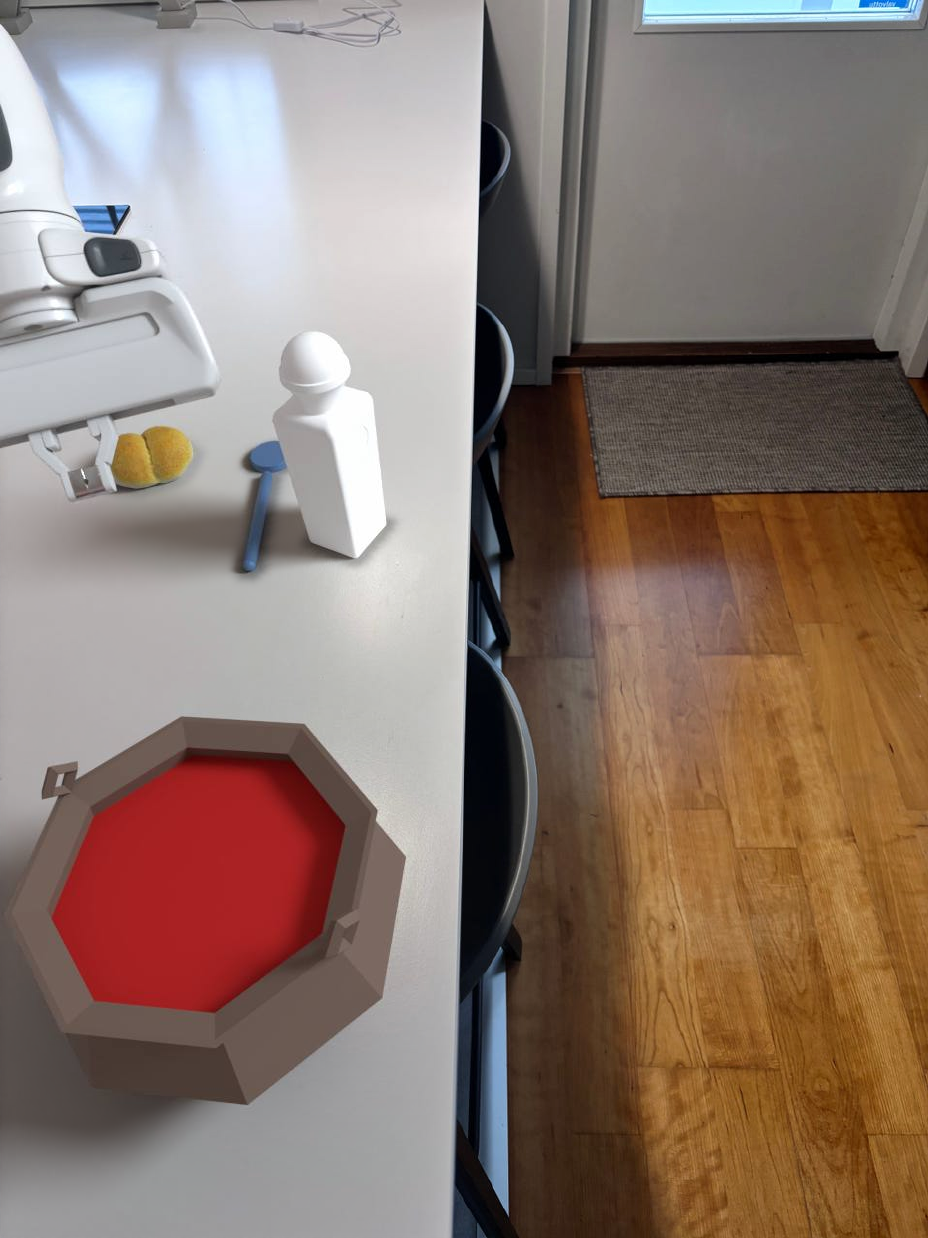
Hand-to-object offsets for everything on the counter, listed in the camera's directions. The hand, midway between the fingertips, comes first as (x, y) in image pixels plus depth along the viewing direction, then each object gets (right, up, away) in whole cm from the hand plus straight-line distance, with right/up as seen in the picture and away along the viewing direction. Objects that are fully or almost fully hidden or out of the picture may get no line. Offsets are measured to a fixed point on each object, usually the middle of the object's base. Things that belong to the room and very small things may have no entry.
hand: (93, 496), depth 62 cm
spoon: (+4, +4, +36) cm, 36 cm away
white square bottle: (+13, 0, +32) cm, 34 cm away
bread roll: (-10, +8, +41) cm, 43 cm away
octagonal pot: (+9, -31, +4) cm, 33 cm away
